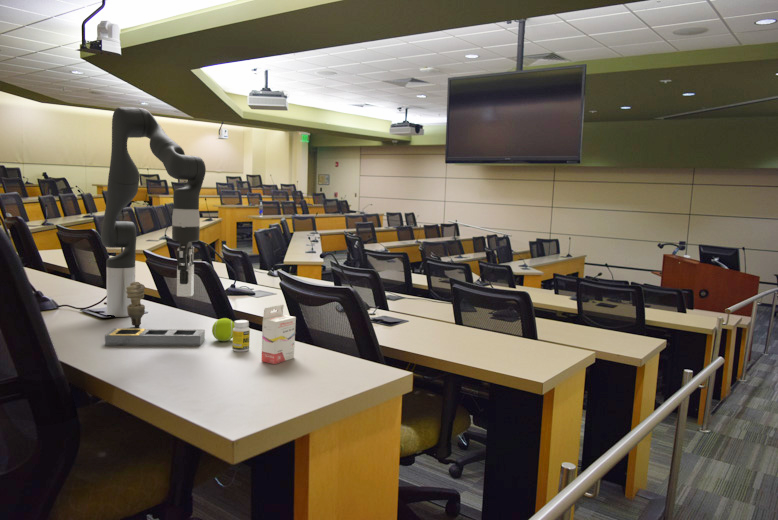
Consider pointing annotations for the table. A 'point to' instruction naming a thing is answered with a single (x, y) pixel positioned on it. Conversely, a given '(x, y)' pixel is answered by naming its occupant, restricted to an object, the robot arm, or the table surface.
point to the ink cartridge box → (277, 335)
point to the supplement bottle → (241, 336)
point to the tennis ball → (223, 329)
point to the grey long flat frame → (155, 337)
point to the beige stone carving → (135, 302)
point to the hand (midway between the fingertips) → (185, 282)
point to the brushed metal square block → (186, 288)
